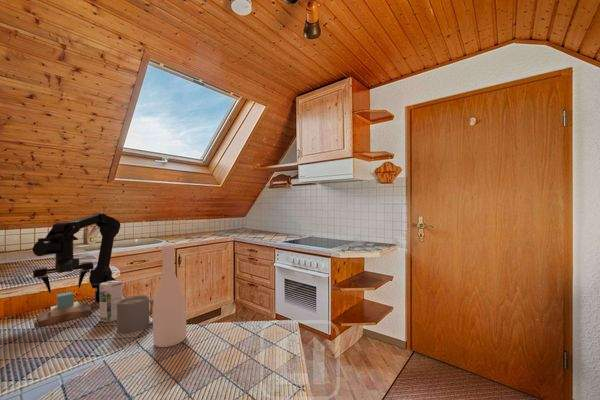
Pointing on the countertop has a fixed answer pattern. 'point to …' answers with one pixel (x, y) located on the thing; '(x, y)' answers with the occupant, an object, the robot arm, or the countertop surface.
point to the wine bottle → (169, 305)
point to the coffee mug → (133, 313)
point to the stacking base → (64, 314)
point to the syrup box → (110, 300)
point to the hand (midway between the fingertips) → (64, 289)
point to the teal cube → (65, 300)
